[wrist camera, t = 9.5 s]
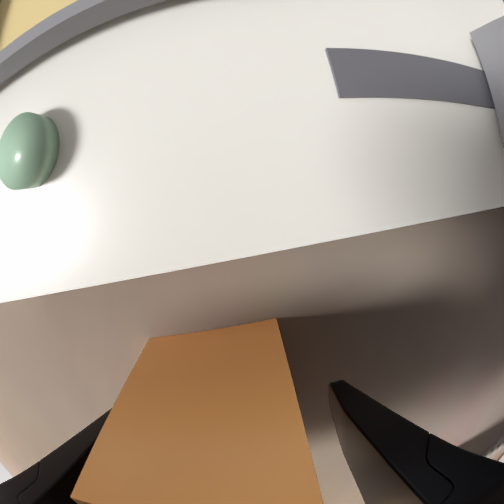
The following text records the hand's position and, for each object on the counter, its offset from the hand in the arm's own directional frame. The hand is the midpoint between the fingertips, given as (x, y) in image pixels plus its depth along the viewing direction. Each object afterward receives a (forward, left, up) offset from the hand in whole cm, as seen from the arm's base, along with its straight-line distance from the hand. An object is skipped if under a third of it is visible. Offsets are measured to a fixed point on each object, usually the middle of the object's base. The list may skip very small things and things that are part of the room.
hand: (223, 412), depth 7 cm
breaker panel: (-4, -12, -2) cm, 13 cm away
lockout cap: (0, 0, -2) cm, 2 cm away
